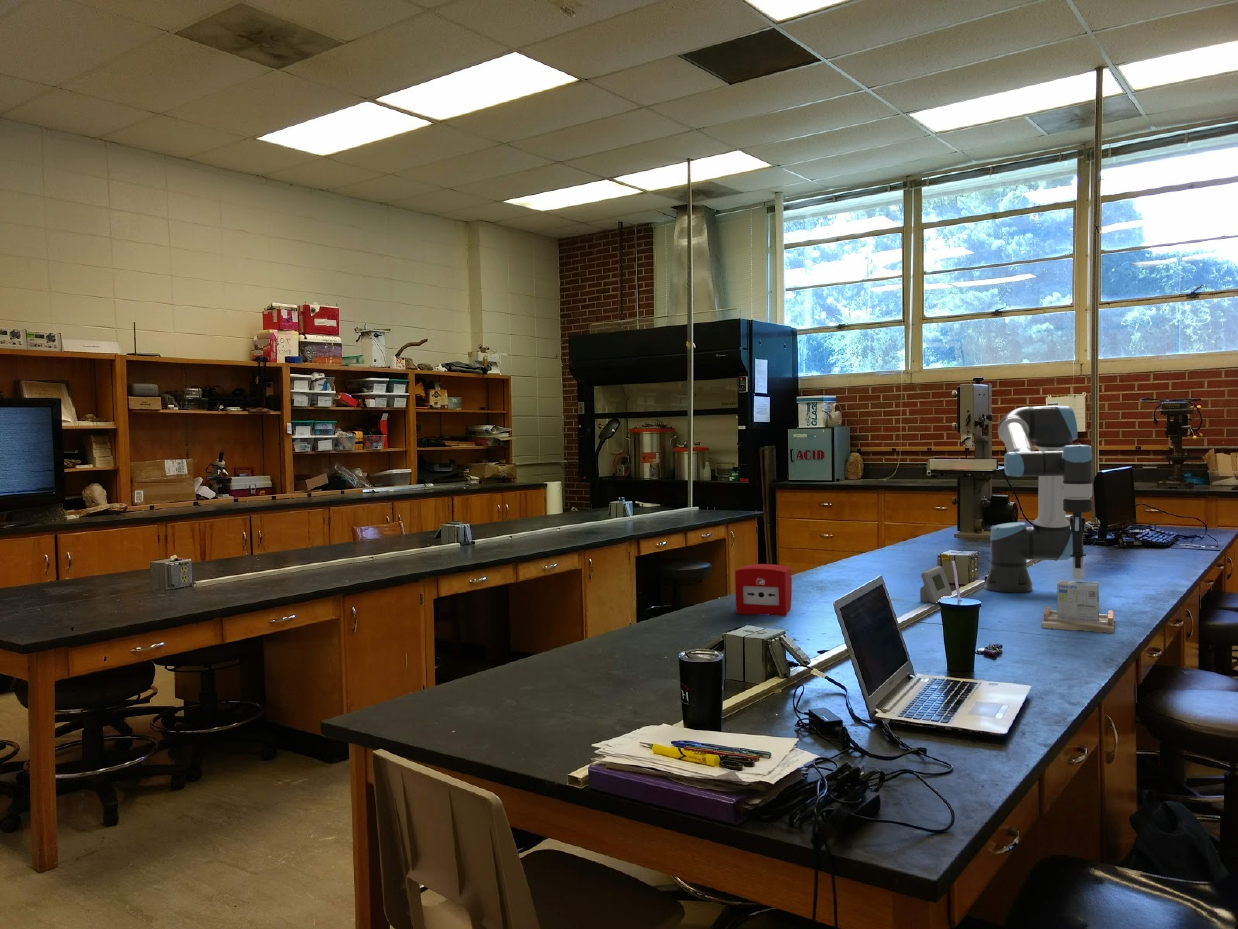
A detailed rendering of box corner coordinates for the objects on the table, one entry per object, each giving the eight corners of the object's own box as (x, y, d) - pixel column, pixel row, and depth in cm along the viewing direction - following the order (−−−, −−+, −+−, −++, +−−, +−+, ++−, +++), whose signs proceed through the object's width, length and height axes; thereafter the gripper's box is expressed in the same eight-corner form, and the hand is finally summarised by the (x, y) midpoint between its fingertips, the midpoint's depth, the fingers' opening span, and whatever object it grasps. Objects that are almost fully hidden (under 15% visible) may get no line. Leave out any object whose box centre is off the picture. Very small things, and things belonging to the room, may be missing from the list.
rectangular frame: (1046, 612, 266) (1046, 606, 266) (1113, 617, 257) (1113, 610, 257) (1043, 620, 256) (1043, 613, 256) (1112, 625, 248) (1112, 618, 248)
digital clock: (935, 605, 288) (935, 573, 288) (910, 602, 295) (910, 570, 295) (960, 598, 299) (960, 567, 298) (936, 595, 306) (935, 564, 305)
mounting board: (1046, 615, 269) (1046, 610, 269) (1114, 620, 260) (1114, 615, 260) (1041, 627, 253) (1041, 622, 253) (1113, 633, 244) (1113, 628, 244)
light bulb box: (1099, 618, 257) (1099, 581, 256) (1098, 623, 251) (1098, 585, 250) (1058, 615, 262) (1058, 579, 262) (1056, 619, 256) (1056, 583, 256)
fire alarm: (735, 614, 284) (734, 568, 284) (743, 607, 294) (742, 562, 294) (785, 616, 278) (784, 569, 277) (792, 610, 288) (791, 564, 287)
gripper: (1064, 496, 263) (1065, 574, 264) (1061, 499, 251) (1062, 581, 252) (1092, 496, 259) (1093, 576, 260) (1091, 500, 248) (1092, 583, 249)
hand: (1078, 578), depth 256 cm, fingers closed
